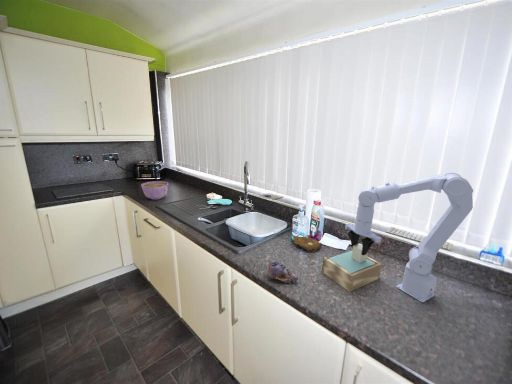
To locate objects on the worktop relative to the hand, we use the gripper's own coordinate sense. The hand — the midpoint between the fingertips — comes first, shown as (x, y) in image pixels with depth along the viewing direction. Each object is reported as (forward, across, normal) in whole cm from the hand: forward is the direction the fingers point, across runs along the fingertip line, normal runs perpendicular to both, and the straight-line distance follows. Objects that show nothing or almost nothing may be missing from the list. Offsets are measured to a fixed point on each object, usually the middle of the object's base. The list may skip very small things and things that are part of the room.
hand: (359, 251), depth 95 cm
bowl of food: (+10, +143, +55) cm, 153 cm away
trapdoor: (+5, +1, +3) cm, 5 cm away
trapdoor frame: (+10, 0, +3) cm, 10 cm away
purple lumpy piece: (+10, +11, +29) cm, 33 cm away
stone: (+3, 0, -1) cm, 3 cm away
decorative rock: (+10, +28, +2) cm, 30 cm away
